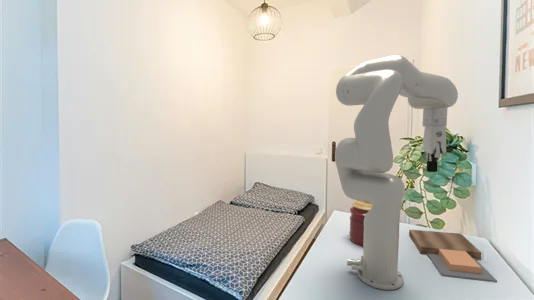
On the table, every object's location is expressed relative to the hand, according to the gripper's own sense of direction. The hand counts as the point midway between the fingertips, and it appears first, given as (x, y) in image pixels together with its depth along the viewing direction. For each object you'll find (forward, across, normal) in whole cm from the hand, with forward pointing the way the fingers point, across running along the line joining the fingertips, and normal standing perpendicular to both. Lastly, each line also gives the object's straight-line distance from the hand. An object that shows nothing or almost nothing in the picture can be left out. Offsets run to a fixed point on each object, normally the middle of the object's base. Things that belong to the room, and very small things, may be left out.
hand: (431, 171), depth 98 cm
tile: (+27, -17, -3) cm, 32 cm away
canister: (+27, -5, +23) cm, 36 cm away
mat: (+27, -19, -3) cm, 33 cm away
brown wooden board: (+27, -4, -3) cm, 28 cm away
